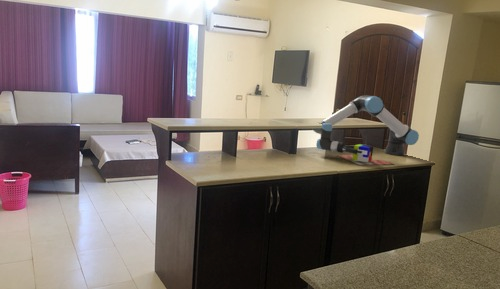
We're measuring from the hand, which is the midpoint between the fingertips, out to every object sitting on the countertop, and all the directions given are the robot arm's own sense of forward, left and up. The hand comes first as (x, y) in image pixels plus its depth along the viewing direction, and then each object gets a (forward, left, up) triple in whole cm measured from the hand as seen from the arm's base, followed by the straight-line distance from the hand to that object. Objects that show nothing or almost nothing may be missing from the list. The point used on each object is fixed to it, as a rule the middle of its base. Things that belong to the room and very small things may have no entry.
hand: (369, 151), depth 268 cm
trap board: (-5, -11, -9) cm, 14 cm away
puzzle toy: (+3, -3, -7) cm, 8 cm away
